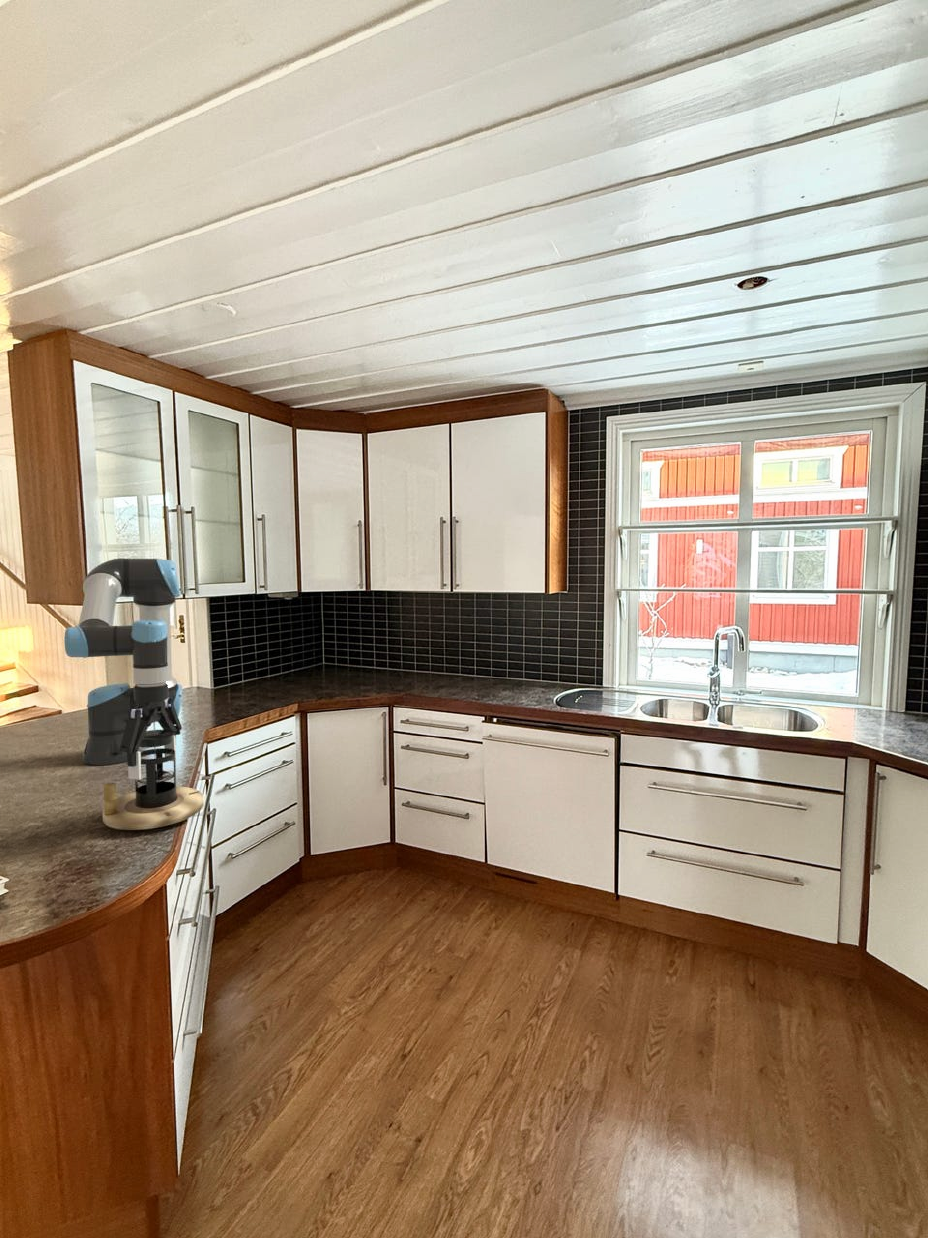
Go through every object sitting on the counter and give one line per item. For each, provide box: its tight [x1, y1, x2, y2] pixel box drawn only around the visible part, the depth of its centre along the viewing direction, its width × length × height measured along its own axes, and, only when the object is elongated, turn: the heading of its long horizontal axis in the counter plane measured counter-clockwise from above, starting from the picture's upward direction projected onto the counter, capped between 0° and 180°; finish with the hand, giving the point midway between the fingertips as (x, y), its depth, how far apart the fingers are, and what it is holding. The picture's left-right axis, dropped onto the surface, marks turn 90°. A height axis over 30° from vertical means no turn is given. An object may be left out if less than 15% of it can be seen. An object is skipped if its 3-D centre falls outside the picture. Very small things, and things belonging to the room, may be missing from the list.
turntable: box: [102, 782, 204, 831], centre depth 147 cm, size 22×22×9 cm
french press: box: [134, 710, 177, 808], centre depth 147 cm, size 12×9×23 cm
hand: (153, 769), depth 147 cm, fingers open, 13 cm apart
